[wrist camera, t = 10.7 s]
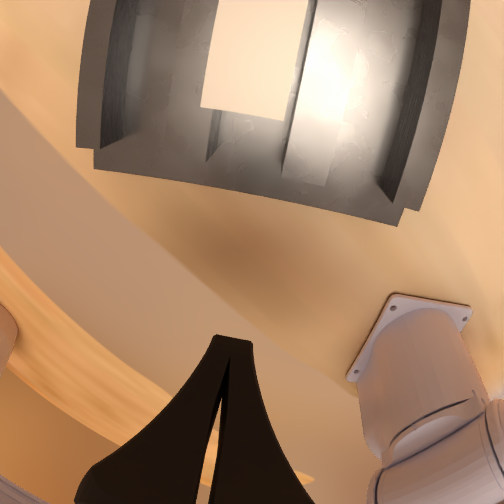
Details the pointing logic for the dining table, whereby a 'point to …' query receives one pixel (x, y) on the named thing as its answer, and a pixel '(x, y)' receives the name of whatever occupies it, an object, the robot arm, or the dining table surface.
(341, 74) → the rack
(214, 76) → the tall beige block
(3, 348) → the cup
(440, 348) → the robot arm
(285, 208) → the dining table surface
